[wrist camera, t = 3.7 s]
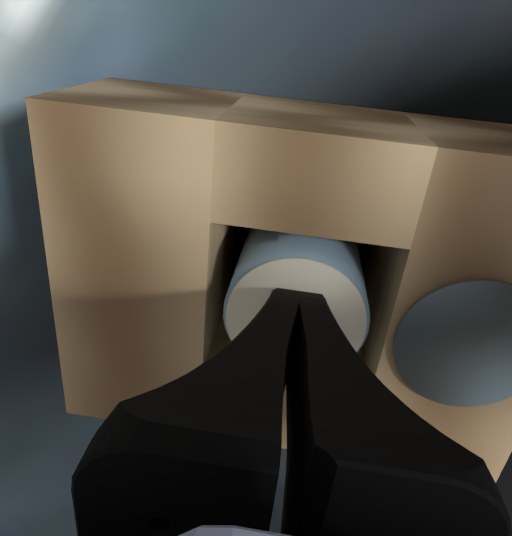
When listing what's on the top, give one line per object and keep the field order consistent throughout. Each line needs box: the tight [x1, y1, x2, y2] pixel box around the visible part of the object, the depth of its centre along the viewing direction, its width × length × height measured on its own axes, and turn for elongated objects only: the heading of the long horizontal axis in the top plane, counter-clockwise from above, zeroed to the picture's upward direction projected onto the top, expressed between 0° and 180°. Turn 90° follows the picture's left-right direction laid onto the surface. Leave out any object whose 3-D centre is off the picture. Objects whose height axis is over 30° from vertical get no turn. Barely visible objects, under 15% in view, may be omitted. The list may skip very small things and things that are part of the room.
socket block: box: [25, 78, 512, 483], centre depth 15 cm, size 14×10×5 cm
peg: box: [223, 228, 370, 352], centre depth 15 cm, size 4×4×5 cm
